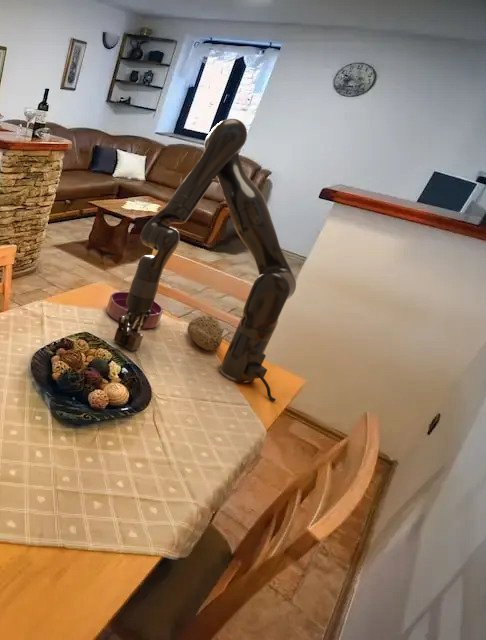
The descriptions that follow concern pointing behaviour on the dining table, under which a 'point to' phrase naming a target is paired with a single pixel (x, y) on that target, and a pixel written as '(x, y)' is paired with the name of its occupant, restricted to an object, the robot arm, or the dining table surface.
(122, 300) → the bowl
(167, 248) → the robot arm
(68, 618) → the dining table surface
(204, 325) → the sponge
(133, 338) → the eraser
